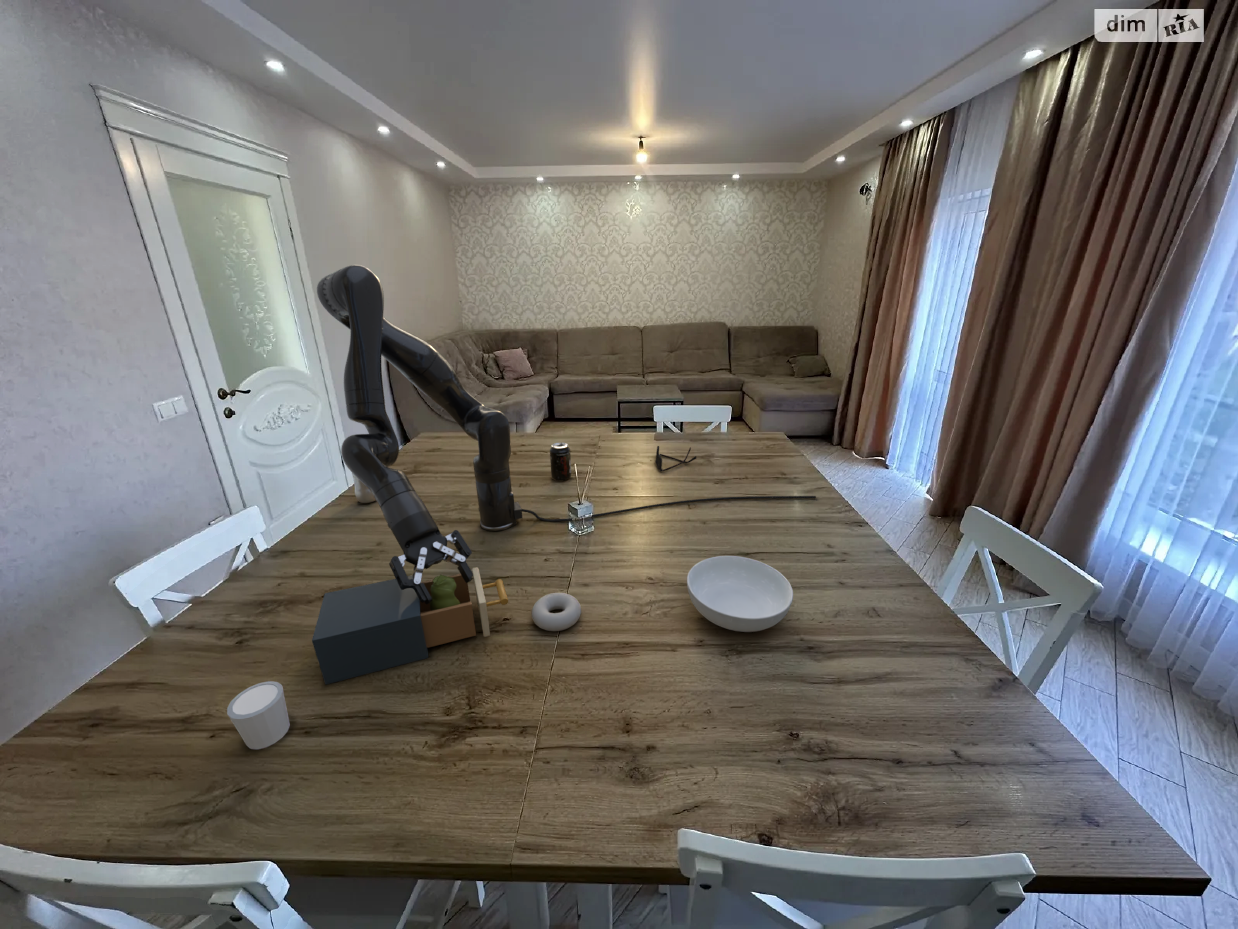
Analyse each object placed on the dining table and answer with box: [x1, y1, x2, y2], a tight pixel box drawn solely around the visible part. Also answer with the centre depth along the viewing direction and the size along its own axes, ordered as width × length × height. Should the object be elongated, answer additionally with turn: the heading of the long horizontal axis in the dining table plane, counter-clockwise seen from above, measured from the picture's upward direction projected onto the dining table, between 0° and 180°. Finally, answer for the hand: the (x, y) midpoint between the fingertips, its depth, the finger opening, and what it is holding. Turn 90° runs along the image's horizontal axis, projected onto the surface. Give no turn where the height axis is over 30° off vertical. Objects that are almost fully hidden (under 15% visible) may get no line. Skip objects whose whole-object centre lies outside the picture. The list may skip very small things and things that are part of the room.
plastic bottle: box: [351, 472, 376, 504], centre depth 146 cm, size 6×7×20 cm
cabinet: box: [311, 574, 429, 686], centre depth 90 cm, size 17×14×10 cm
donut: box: [531, 592, 582, 632], centre depth 98 cm, size 10×3×10 cm
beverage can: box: [549, 442, 572, 482], centre depth 162 cm, size 7×7×12 cm
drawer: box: [420, 566, 509, 649], centre depth 94 cm, size 20×12×8 cm, turn 112°
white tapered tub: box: [226, 680, 291, 750], centre depth 73 cm, size 7×7×7 cm
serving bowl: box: [686, 555, 794, 633], centre depth 99 cm, size 21×21×7 cm
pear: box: [430, 574, 460, 611], centre depth 93 cm, size 6×5×10 cm
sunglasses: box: [654, 445, 697, 473], centre depth 176 cm, size 17×14×5 cm
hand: (450, 591), depth 92 cm, fingers open, 8 cm apart
